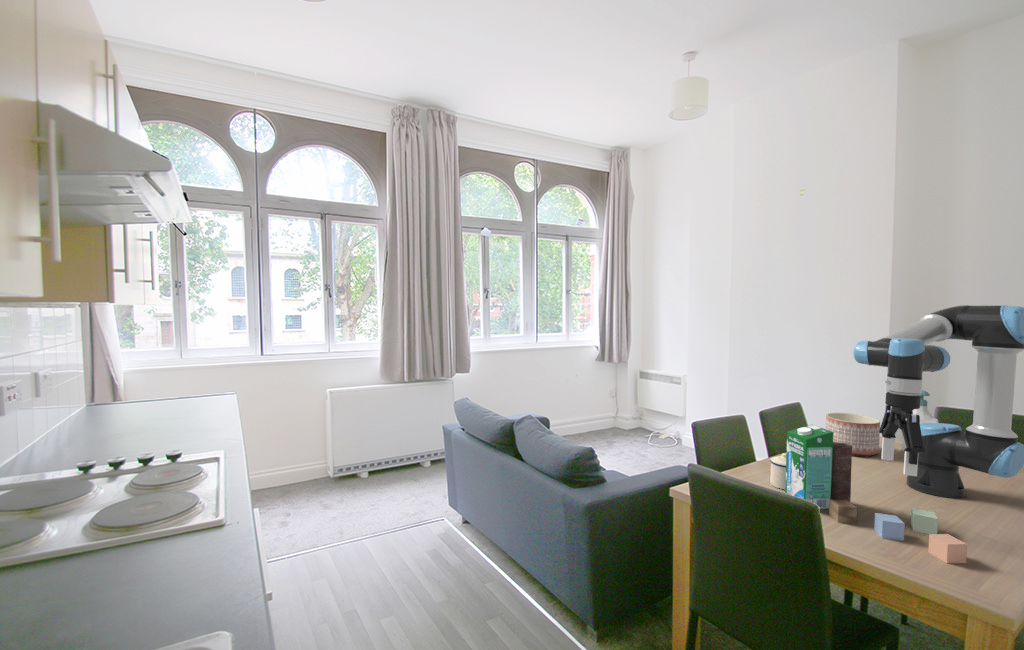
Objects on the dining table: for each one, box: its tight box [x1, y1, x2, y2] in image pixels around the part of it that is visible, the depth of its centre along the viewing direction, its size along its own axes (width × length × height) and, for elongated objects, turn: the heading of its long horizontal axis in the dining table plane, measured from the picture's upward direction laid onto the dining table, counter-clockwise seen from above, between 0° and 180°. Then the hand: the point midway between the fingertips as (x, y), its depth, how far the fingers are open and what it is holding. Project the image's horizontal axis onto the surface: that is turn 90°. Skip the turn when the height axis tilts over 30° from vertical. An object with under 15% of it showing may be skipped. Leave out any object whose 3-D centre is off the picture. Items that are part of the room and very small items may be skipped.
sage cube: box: [910, 507, 939, 535], centre depth 133 cm, size 5×5×5 cm
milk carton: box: [784, 424, 833, 510], centre depth 149 cm, size 9×9×25 cm
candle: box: [831, 442, 853, 503], centre depth 149 cm, size 8×7×20 cm
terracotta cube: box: [928, 533, 968, 564], centre depth 118 cm, size 5×5×5 cm
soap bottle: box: [901, 389, 939, 452], centre depth 201 cm, size 11×8×27 cm
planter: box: [825, 412, 881, 457], centre depth 203 cm, size 19×19×15 cm
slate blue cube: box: [874, 512, 906, 542], centre depth 130 cm, size 5×5×5 cm
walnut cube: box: [828, 499, 858, 525], centre depth 139 cm, size 5×5×5 cm
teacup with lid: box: [769, 452, 787, 491], centre depth 165 cm, size 12×9×12 cm
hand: (898, 467), depth 131 cm, fingers open, 13 cm apart
